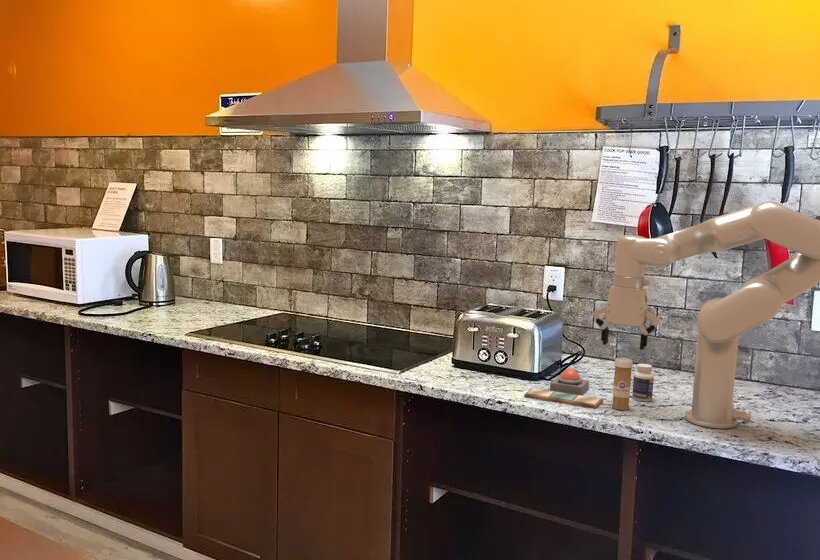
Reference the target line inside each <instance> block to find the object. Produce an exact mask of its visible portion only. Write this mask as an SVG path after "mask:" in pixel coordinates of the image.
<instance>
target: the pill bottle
mask: <svg viewBox="0 0 820 560" xmlns="http://www.w3.org/2000/svg"><path fill="white" fill-rule="evenodd" d="M652 370H653V365H651V364H648V363H637V365H636V371H635V372H634V374H633V382H632V395H631V397H632V399H633V400H635V401H639V402H646V403H647V402H651V401H653V393H654V392H653V391H654V380H655V377H654V376H655V375H654V374H653V373H652Z"/></svg>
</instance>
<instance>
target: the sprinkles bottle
mask: <svg viewBox="0 0 820 560" xmlns="http://www.w3.org/2000/svg"><path fill="white" fill-rule="evenodd" d="M633 362H634V361H633V359H631V358H627V357H616V358H615V359H614V368H615V369H614V375H613V376H614V377H613V389H612V404H611V408H613V409H615V410H619V411H627V410H629V409H630V396H631V384H632V369H633V365H634V363H633Z"/></svg>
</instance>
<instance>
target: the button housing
mask: <svg viewBox="0 0 820 560" xmlns="http://www.w3.org/2000/svg"><path fill="white" fill-rule="evenodd" d="M559 376H560V375H558V376H557V377H555V378H554V379H553V380H552V381H551V382H549V390H550V391H557V392H563V393H570V394H576V395H582V396H584V394H585V393H587V392H588V390H589V389H590V380H589V379H583V378H582V382H581V383H578V384H577V385H571V384H564V383H562V382H560V381H558V377H559Z"/></svg>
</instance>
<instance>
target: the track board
mask: <svg viewBox="0 0 820 560" xmlns="http://www.w3.org/2000/svg"><path fill="white" fill-rule="evenodd" d="M523 396H524V397H523V398H527V399H531V400H538V399H540V400H539V401H544V400H546V401H545V402H550V401H552V402H551V403H556V402H558V403H557V404H562V403H564V405H569V404H570V406H575V405H576V407H581V406H582V407H583V408H587V409H593V408H594V410H597V409H598V408H599V407H600V405H601V404H602V403H603V402H604V399H603V398H601V397H594V396H588V395H576V394H570V393H563V392H557V391H550V389H542V388H537V387H532V388H530V390H528V391H527V392H526V393H524V394H523ZM596 408H597V409H596Z"/></svg>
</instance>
